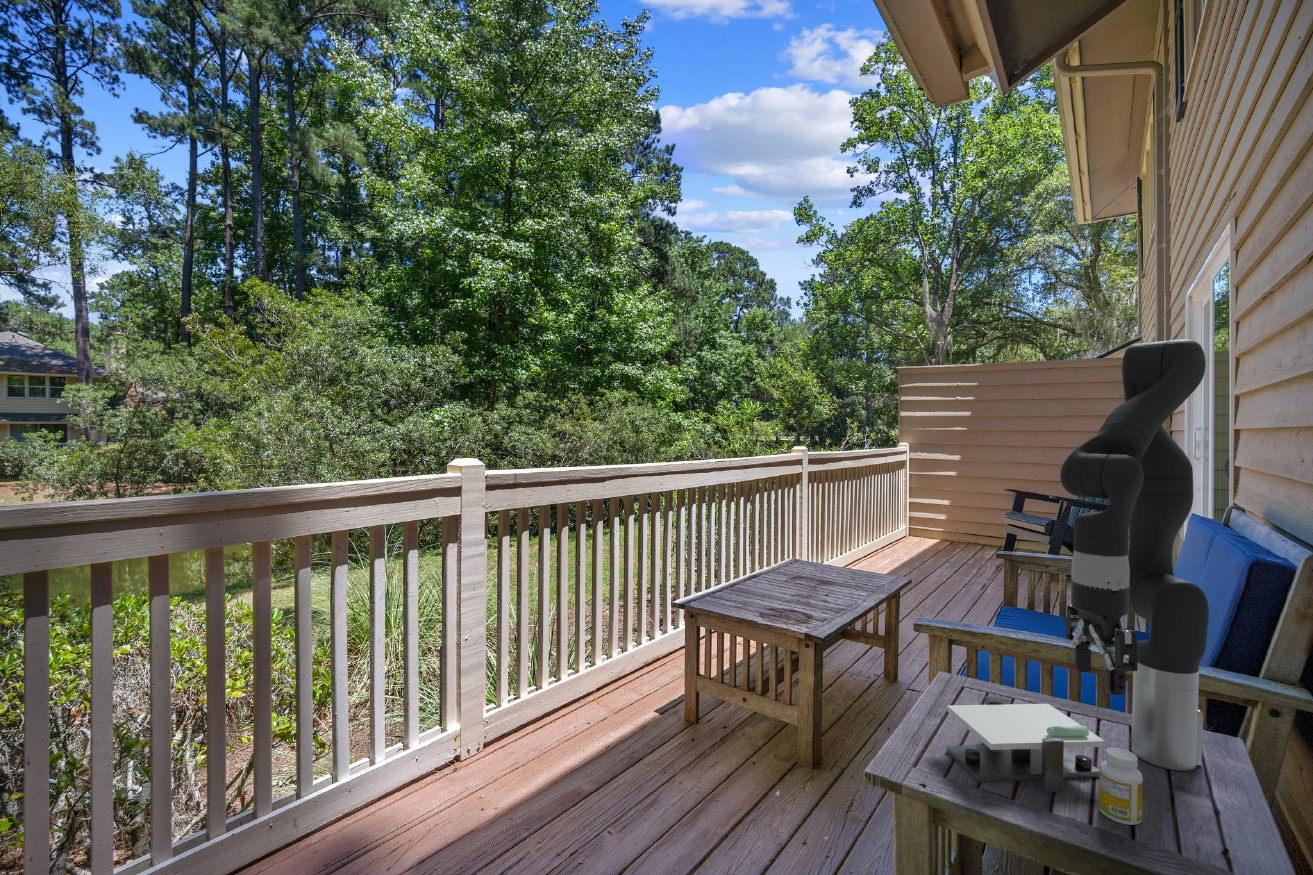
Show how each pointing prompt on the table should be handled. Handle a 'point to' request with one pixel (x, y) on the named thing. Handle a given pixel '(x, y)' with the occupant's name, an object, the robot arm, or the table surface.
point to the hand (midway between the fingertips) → (1098, 682)
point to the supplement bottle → (1121, 787)
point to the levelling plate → (1022, 726)
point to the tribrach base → (1024, 761)
